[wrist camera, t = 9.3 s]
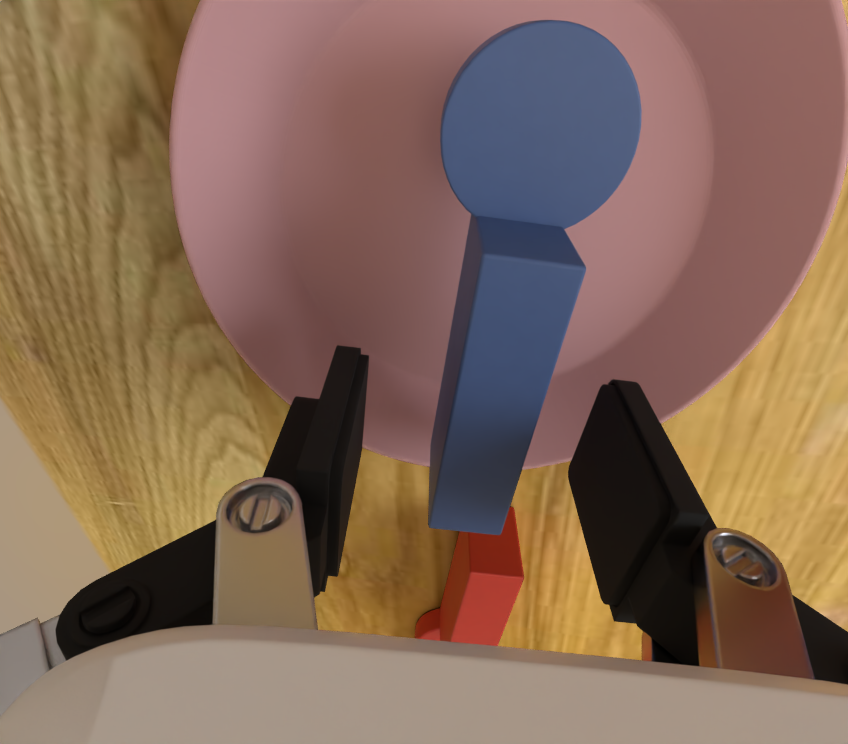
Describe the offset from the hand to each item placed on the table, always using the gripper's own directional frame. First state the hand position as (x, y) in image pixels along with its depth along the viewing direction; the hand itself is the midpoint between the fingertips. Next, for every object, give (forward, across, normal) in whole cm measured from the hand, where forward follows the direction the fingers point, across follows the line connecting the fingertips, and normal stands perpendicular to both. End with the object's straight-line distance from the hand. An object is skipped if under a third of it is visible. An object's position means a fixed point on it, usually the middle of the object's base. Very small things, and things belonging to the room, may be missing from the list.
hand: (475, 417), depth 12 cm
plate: (+4, 0, -4) cm, 5 cm away
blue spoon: (+2, 0, -3) cm, 3 cm away
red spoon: (+4, -2, +12) cm, 13 cm away
